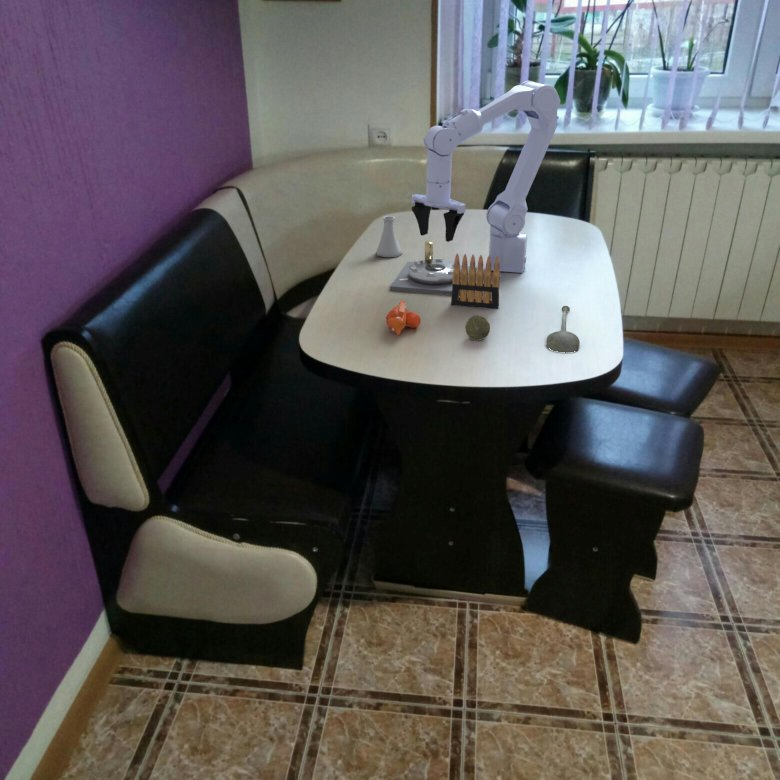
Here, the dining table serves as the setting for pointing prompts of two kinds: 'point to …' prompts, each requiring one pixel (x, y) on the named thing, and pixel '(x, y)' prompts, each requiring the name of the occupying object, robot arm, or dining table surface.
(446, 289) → the cap plate
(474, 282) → the ammunition clip
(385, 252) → the flask
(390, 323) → the orange toy bird
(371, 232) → the dining table surface
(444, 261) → the crank wheel with handle
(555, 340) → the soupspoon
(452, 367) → the dining table surface
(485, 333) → the lime
